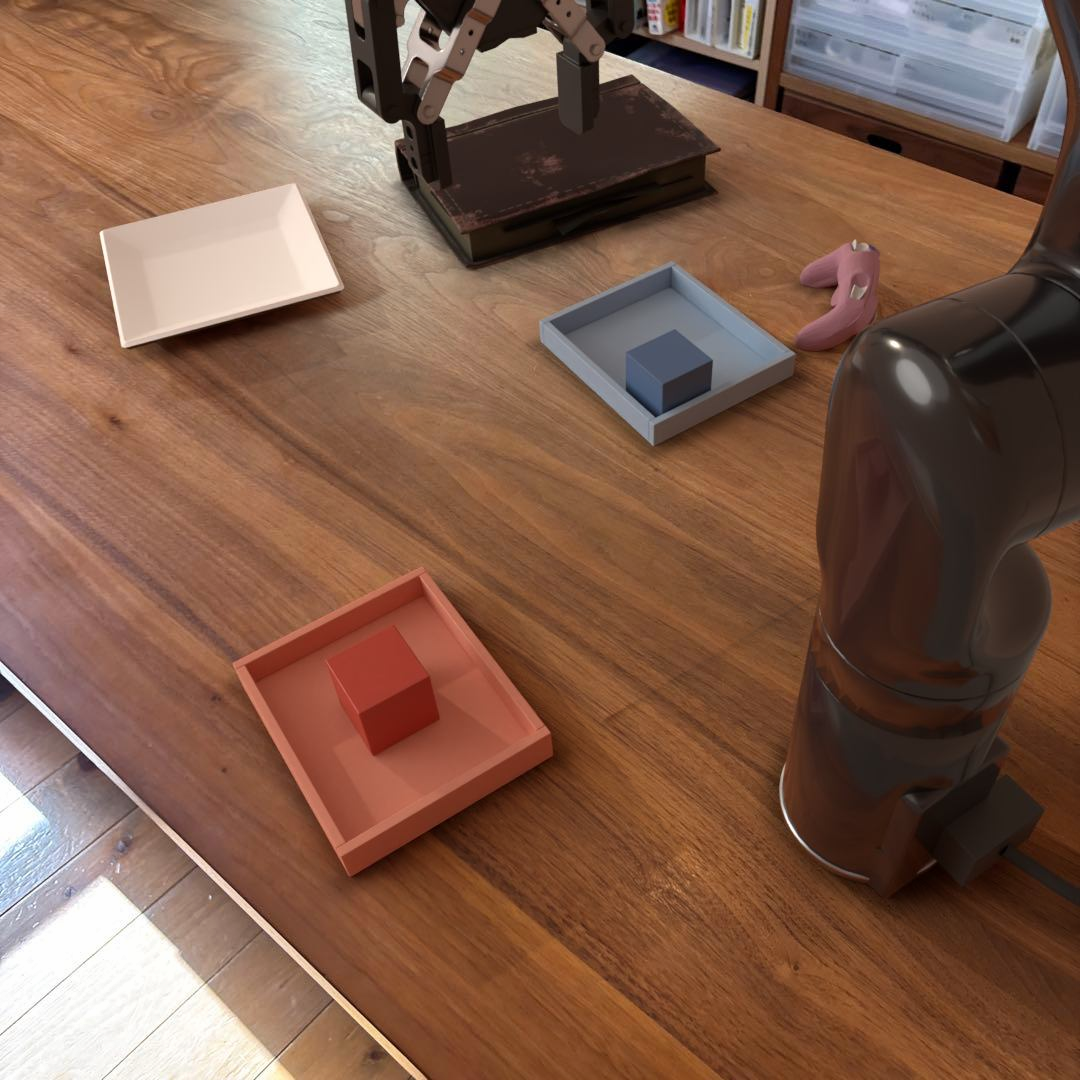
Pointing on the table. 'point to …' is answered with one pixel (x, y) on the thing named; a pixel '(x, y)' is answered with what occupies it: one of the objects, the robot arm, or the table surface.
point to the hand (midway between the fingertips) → (508, 154)
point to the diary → (560, 173)
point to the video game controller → (842, 295)
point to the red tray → (413, 763)
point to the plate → (216, 265)
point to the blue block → (667, 372)
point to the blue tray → (648, 312)
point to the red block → (383, 689)
